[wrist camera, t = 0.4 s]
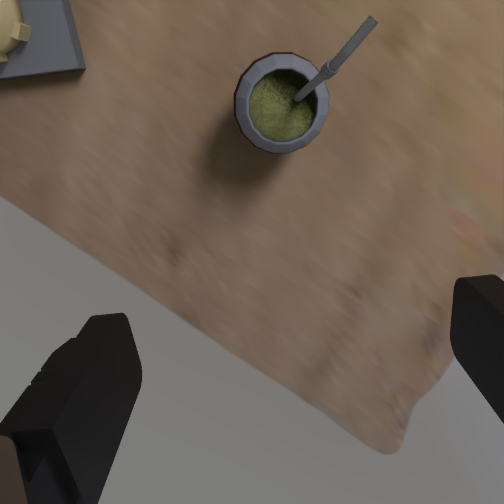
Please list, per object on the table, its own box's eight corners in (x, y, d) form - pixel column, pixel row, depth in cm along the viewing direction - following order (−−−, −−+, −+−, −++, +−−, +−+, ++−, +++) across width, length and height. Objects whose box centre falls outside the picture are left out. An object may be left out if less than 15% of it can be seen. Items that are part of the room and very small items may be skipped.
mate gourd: (237, 143, 36) (226, 181, 22) (235, 45, 32) (221, 15, 19) (320, 143, 36) (362, 180, 22) (326, 44, 32) (379, 14, 19)
